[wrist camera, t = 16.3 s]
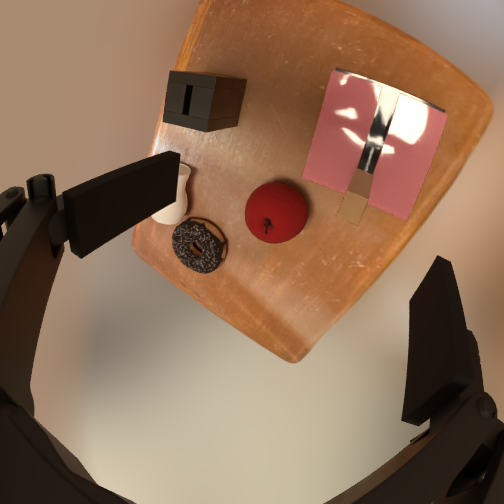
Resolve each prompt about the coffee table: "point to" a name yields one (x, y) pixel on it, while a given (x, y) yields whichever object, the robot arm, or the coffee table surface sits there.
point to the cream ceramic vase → (178, 208)
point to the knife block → (203, 100)
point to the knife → (356, 196)
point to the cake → (374, 140)
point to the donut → (205, 238)
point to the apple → (275, 212)
